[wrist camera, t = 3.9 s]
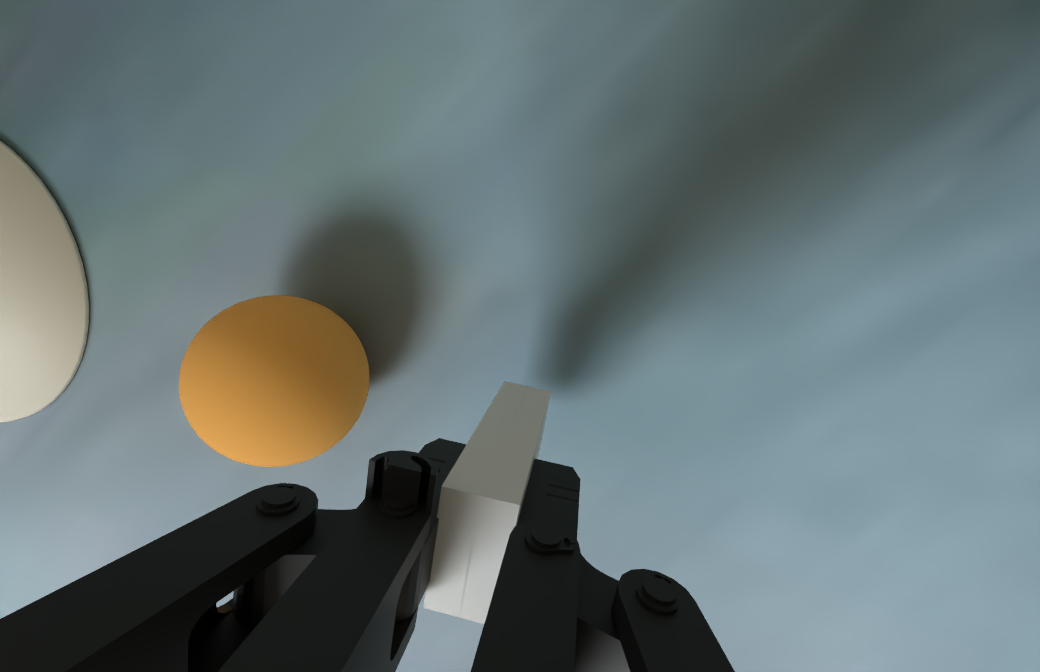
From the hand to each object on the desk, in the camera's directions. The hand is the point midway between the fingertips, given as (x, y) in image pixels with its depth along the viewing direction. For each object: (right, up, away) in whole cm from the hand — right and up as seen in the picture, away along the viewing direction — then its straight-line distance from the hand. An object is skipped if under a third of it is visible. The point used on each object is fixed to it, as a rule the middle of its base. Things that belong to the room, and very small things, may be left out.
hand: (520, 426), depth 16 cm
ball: (-8, +1, 0) cm, 8 cm away
